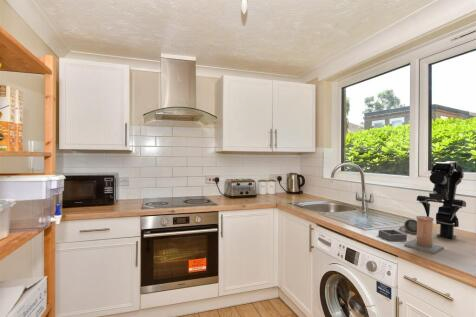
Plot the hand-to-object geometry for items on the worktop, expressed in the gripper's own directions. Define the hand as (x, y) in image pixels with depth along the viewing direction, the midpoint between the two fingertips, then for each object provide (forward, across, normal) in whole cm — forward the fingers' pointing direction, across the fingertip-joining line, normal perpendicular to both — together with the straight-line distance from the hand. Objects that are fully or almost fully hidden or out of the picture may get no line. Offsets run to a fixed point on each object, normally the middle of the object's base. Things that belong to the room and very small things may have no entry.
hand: (438, 218), depth 129 cm
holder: (+14, -17, -8) cm, 23 cm away
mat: (+14, -2, -10) cm, 18 cm away
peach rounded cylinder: (+14, -2, -10) cm, 17 cm away
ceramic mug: (+10, -17, +14) cm, 24 cm away
